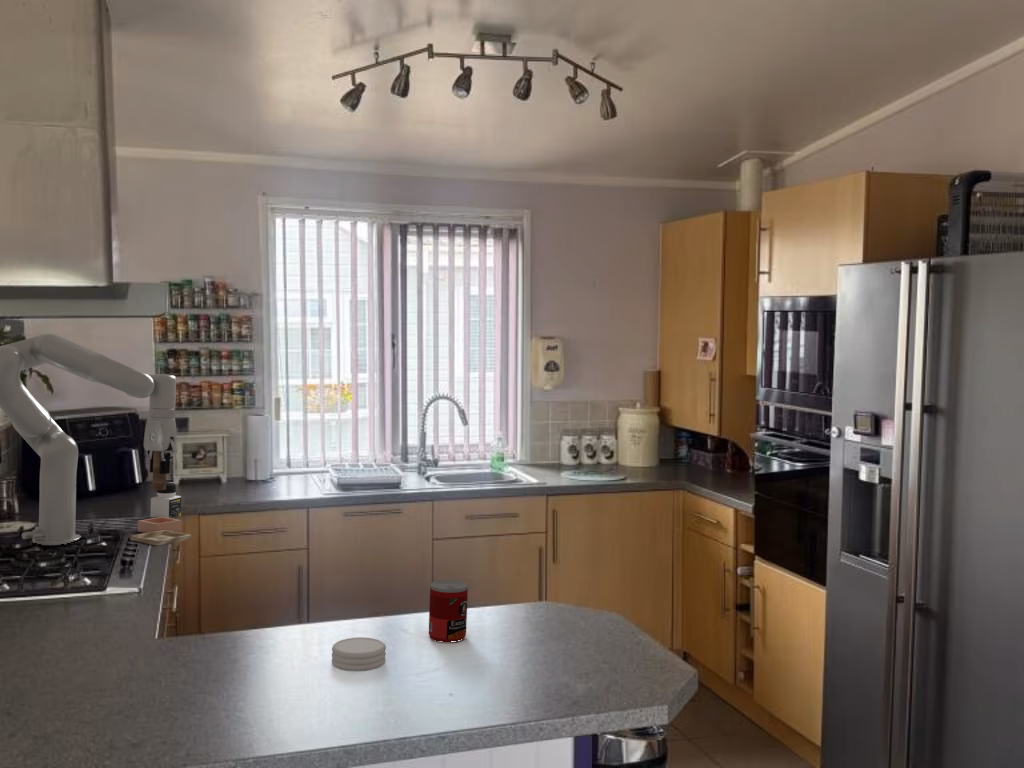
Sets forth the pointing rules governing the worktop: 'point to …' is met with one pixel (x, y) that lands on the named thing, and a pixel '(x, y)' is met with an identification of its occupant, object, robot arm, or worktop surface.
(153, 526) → the pink square box
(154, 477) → the dowel
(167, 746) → the worktop surface
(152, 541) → the tray
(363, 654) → the coaster
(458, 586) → the canned food
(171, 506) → the medicine bottle
